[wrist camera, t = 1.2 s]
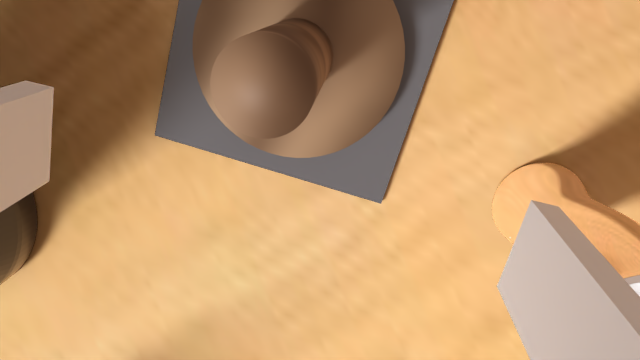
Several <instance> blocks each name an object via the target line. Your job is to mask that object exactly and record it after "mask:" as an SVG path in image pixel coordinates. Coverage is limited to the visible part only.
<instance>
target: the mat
mask: <svg viewBox="0 0 640 360" xmlns="http://www.w3.org/2000/svg"><path fill="white" fill-rule="evenodd" d="M393 1H394V4H395V6H396V8H397V11H398V13H399V16H400V20H401V24H402V28H403V33H404V41H405V61H404V69H403V75H402V78H401V82H400V86H399V89H398V91H397V94H396V96H395V98H394V101H393V102H392V104H391V106H390V107H389V109H388V111H387V113H386V114H385V115H384V116H383V118H382V119H381V120H380V122H379V123H378V124H377V125H376V126H375V127H374V128H373V129H372V130H371V131H370V132H369V133H368V134H366V135H365V136H364V137H363V138H361V139H360V140H359V141H357V142H355V143H354V144H352V145H350V146H348V147H347V148H344V149H342V150H339V151H337V152H335V153H331V154H327V155H324V156H318V157H311V158H292V157H283V156H279V155H275V154H271V153H268V152H265V151H263V150H260V149H258V148H256V147H254V146H252V145H250V144H248V143H246V142H245V141H243V140H242V139H241V138H239V137H238V136H236V135H235V134H234V133H233V132H232V131H230V130H229V129H228V128H227V127H226V126H225V125H224V124H223V123H222V122H221V121H220V119H219V118H218V117H217V116H216V114H215V113H214V112H213V110H212V109H211V107H210V106H209V104H208V102H207V100H206V99H205V97H204V95H203V93H202V90H201V88H200V85H199V82H198V80H197V76H196V72H195V68H194V60H193V31H194V24H195V20H196V16H197V13H198V10H199V7H200V5H201V2H202V0H179V4H178V9H177V15H176V20H175V26H174V31H173V37H172V43H171V48H170V54H169V59H168V65H167V70H166V76H165V81H164V87H163V92H162V98H161V103H160V109H159V114H158V120H157V125H156V131H155V135H156V136H159V137H162V138H166V139H169V140H172V141H175V142H179V143H182V144H185V145H189V146H192V147H195V148H199V149H202V150H205V151H209V152H212V153H215V154H219V155H222V156H225V157H228V158H232V159H235V160H238V161H242V162H245V163H248V164H252V165H255V166H258V167H262V168H265V169H268V170H271V171H275V172H278V173H281V174H285V175H288V176H291V177H295V178H298V179H301V180H305V181H308V182H311V183H315V184H318V185H321V186H324V187H328V188H331V189H334V190H338V191H341V192H344V193H348V194H351V195H354V196H358V197H361V198H364V199H367V200H371V201H374V202H377V203H381V202H382V200H383V197H384V194H385V191H386V188H387V186H388V183H389V180H390V177H391V174H392V172H393V169H394V166H395V163H396V160H397V158H398V155H399V152H400V149H401V147H402V144H403V141H404V138H405V135H406V133H407V130H408V127H409V124H410V121H411V119H412V116H413V113H414V110H415V107H416V105H417V102H418V99H419V96H420V93H421V91H422V88H423V85H424V82H425V79H426V77H427V74H428V71H429V68H430V65H431V63H432V60H433V57H434V54H435V51H436V49H437V46H438V43H439V40H440V37H441V35H442V32H443V29H444V26H445V24H446V21H447V18H448V15H449V12H450V10H451V7H452V4H453V1H454V0H393Z"/></svg>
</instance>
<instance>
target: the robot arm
mask: <svg viewBox="0 0 640 360" xmlns="http://www.w3.org/2000/svg"><path fill="white" fill-rule="evenodd" d="M53 95H54V87H51V86H47V85H43V84H39V83H34V82H30V81H22V82H19V83H15V84H12V85H8V86H4V87H1V88H0V285H1V284H2V283H3V282H4V281H6V280H7V279H8V278H9V277H11V276H12V275H13V274H14V273H16V272H17V271H18V270H19V269H20V268H21V266H22V265H23V264H24V263H25V261H26V260H27V258H28V256H29V255H30V253H31V250H32V248H33V245H34V242H35V238H36V232H37V211H36V204H35V200H34V196H33V193H32V192H33V191H35V190H36V189H38V188H40V187H41V186H43V185H44V184H46V183H48V182H49V180H50V159H51V138H52V117H53ZM497 288H498V290H499V292H500V294H501V296H502V299H503V301H504V303H505V305H506V307H507V310H508V312H509V314H510V316H511V318H512V321H513V323H514V325H515V327H516V329H517V332H518V334H519V336H520V338H521V340H522V343H523V345H524V347H525V349H526V351H527V354H528V356H529V358H530V360H640V296H639V295H638V294H637V293H636V292H635V291H634V290H633V289H632V287H631V286H630V285H629V284H628V283H627V282H626V281H625V280H624V279H623V277H622V276H621V275H620V274H619V273H618V272H617V271H616V270H615V269H614V267H613V266H612V265H611V264H610V263H609V262H608V261H607V260H606V259H605V257H604V256H603V255H602V254H601V253H600V252H599V251H598V250H597V249H596V247H595V246H594V245H593V244H592V243H591V242H590V241H589V240H588V239H587V237H586V236H585V235H584V234H583V233H582V232H581V231H580V230H579V229H578V227H577V226H576V225H575V224H574V223H573V222H572V221H571V220H570V219H569V217H568V216H567V215H566V214H565V213H564V212H563V211H562V210H561V209H560V207H559V206H554V205H550V204H546V203H542V202H537V201H533V200H531V202H530V204H529V207H528V209H527V212H526V214H525V217H524V219H523V222H522V224H521V227H520V229H519V232H518V234H517V237H516V239H515V242H514V245H513V247H512V250H511V252H510V255H509V257H508V260H507V262H506V265H505V267H504V270H503V272H502V275H501V277H500V280H499V282H498V285H497Z"/></svg>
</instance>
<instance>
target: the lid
mask: <svg viewBox="0 0 640 360" xmlns="http://www.w3.org/2000/svg"><path fill="white" fill-rule="evenodd" d="M193 60H194V68H195V72H196V76H197V80H198V82H199V85H200V88H201V90H202V93H203V95H204V97H205V99H206V100H207V102H208V104H209V106H210V107H211V109H212V110H213V112H214V113H215V114H216V116H217V117H218V118H219V119H220V121H221V122H222V123H223V124H224V125H225V126H226V127H227V128H228V129H229V130H230V131H232V132H233V133H234V134H235V135H236V136H238V137H239V138H241V139H242V140H243V141H245V142H246V143H248V144H250V145H252V146H254V147H256V148H258V149H260V150H263V151H265V152H268V153H271V154H275V155H279V156H283V157H292V158H311V157H318V156H324V155H327V154H331V153H335V152H337V151H339V150H342V149H344V148H347V147H348V146H350V145H352V144H354V143H355V142H357V141H359V140H360V139H361V138H363V137H364V136H365V135H366V134H368V133H369V132H370V131H371V130H372V129H373V128H374V127H375V126H376V125H377V124H378V123H379V122H380V120H381V119H382V118H383V116H384V115H385V114H386V113H387V111H388V109H389V107H390V106H391V104H392V102H393V101H394V98H395V96H396V94H397V91H398V89H399V86H400V82H401V78H402V75H403V69H404V61H405V41H404V33H403V28H402V24H401V20H400V16H399V13H398V11H397V8H396V6H395V4H394V1H393V0H202V2H201V5H200V7H199V10H198V13H197V16H196V20H195V24H194V31H193Z"/></svg>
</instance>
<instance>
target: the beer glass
mask: <svg viewBox="0 0 640 360" xmlns="http://www.w3.org/2000/svg"><path fill="white" fill-rule="evenodd" d="M531 200H533V201H537V202H542V203H546V204H550V205H554V206H559V207H560V209H561V210H562V211H563V212H564V213H565V214H566V215H567V216H568V217H569V219H570V220H571V221H572V222H573V223H574V224H575V225H576V226H577V227H578V229H579V230H580V231H581V232H582V233H583V234H584V235H585V236H586V237H587V239H588V240H589V241H590V242H591V243H592V244H593V245H594V246H595V247H596V249H597V250H598V251H599V252H600V253H601V254H602V255H603V256H604V257H605V259H606V260H607V261H608V262H609V263H610V264H611V265H612V266H613V267H614V269H615V270H616V271H617V272H618V273H619V274H620V275H621V276H622V277H623V279H624V280H625V281H626V282H627V283H628V284H629V285H630V286H631V287H632V289H633V290H634V291H635V292H636V293H637V294H638V295H639V296H640V223H638V222H636V221H635V220H633V219H631V218H629V217H628V216H626V215H624V214H622V213H620V212H618V211H616V210H614V209H612V208H610V207H608V206H606V205H604V204H601V203H599V202H597V201H595V200H593V199H591V198H590V197H589V195H588V193H587V191H586V189H585V187H584V185H583V183H582V182H581V181H580V179H579V178H578V177H577V176H576V175H575V174H574V173H573V172H572V171H570V170H569V169H567V168H565V167H563V166H561V165H558V164H554V163H546V162H541V163H533V164H529V165H525V166H523V167H521V168H518V169H517V170H515V171H513V172H512V173H510V174H509V175H508V176H507V177H506V178H505V179H504V180H503V181H502V182H501V183H500V185H499V186H498V188H497V190H496V192H495V194H494V197H493V201H492V216H493V220H494V223H495V225H496V227H497V228H498V230H499V231H500V232H501V234H502V235H503V236H504V237H505V238H506V239H507V240H509V241H510V242H511V243H512V244H513V245H514V242H515V239H516V237H517V234H518V232H519V229H520V227H521V224H522V222H523V219H524V217H525V214H526V212H527V209H528V207H529V204H530V202H531Z"/></svg>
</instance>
